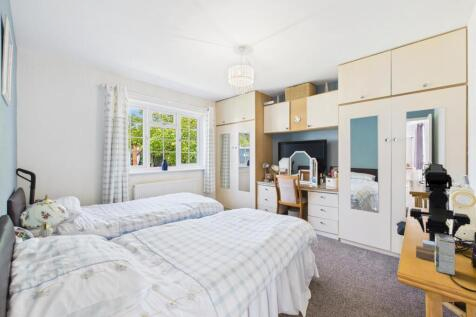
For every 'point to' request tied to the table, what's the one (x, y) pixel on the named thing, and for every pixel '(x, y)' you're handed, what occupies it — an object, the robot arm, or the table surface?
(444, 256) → the syrup box
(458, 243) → the table surface
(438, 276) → the table surface
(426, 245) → the painted cube
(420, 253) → the walnut block
